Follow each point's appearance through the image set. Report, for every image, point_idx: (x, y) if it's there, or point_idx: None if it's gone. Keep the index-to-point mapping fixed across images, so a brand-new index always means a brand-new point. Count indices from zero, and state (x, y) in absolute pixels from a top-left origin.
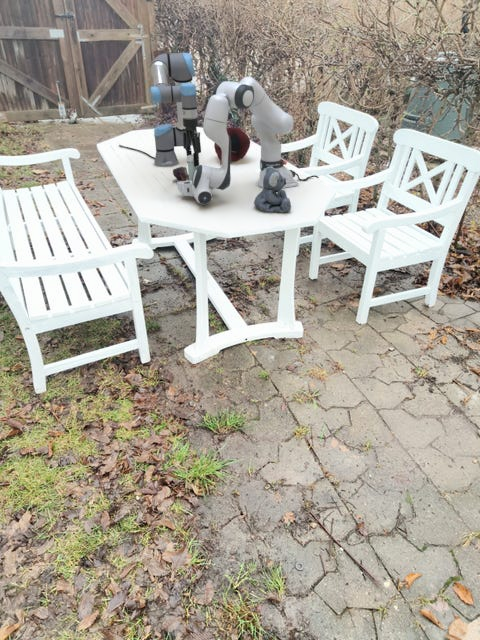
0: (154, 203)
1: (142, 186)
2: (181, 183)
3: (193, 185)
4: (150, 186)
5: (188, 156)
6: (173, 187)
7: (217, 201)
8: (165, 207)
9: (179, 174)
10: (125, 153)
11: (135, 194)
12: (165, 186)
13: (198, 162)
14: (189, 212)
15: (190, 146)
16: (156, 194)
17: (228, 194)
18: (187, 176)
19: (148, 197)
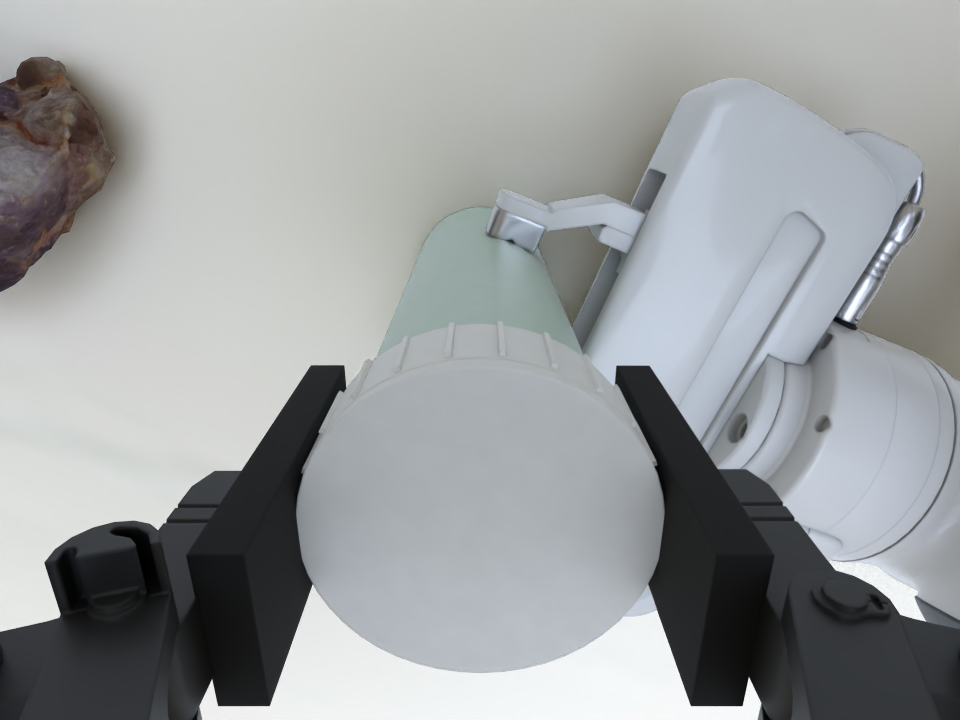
0: (516, 692)
1: (5, 592)
2: (644, 611)
3: (853, 562)
4: (39, 539)
5: (435, 630)
6: (189, 379)
7: (930, 241)
8: (661, 671)
9: (3, 275)
10: None
11: (209, 710)
12: (110, 428)
13: (667, 410)
14: (912, 592)
15: (150, 705)
16: (310, 594)
17: None
18: (68, 168)
19: (346, 670)
